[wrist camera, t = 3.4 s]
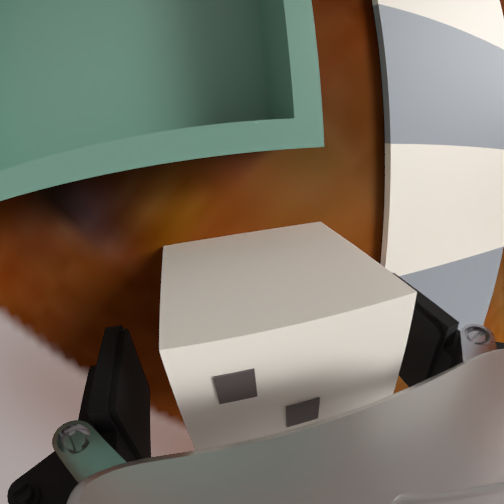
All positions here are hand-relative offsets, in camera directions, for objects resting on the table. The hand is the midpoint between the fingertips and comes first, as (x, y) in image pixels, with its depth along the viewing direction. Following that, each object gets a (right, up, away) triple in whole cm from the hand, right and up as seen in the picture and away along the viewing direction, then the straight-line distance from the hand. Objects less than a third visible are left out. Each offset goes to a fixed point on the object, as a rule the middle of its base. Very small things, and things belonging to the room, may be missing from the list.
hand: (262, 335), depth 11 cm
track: (+10, +8, +1) cm, 13 cm away
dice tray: (-5, +11, -4) cm, 13 cm away
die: (0, +1, +2) cm, 2 cm away
